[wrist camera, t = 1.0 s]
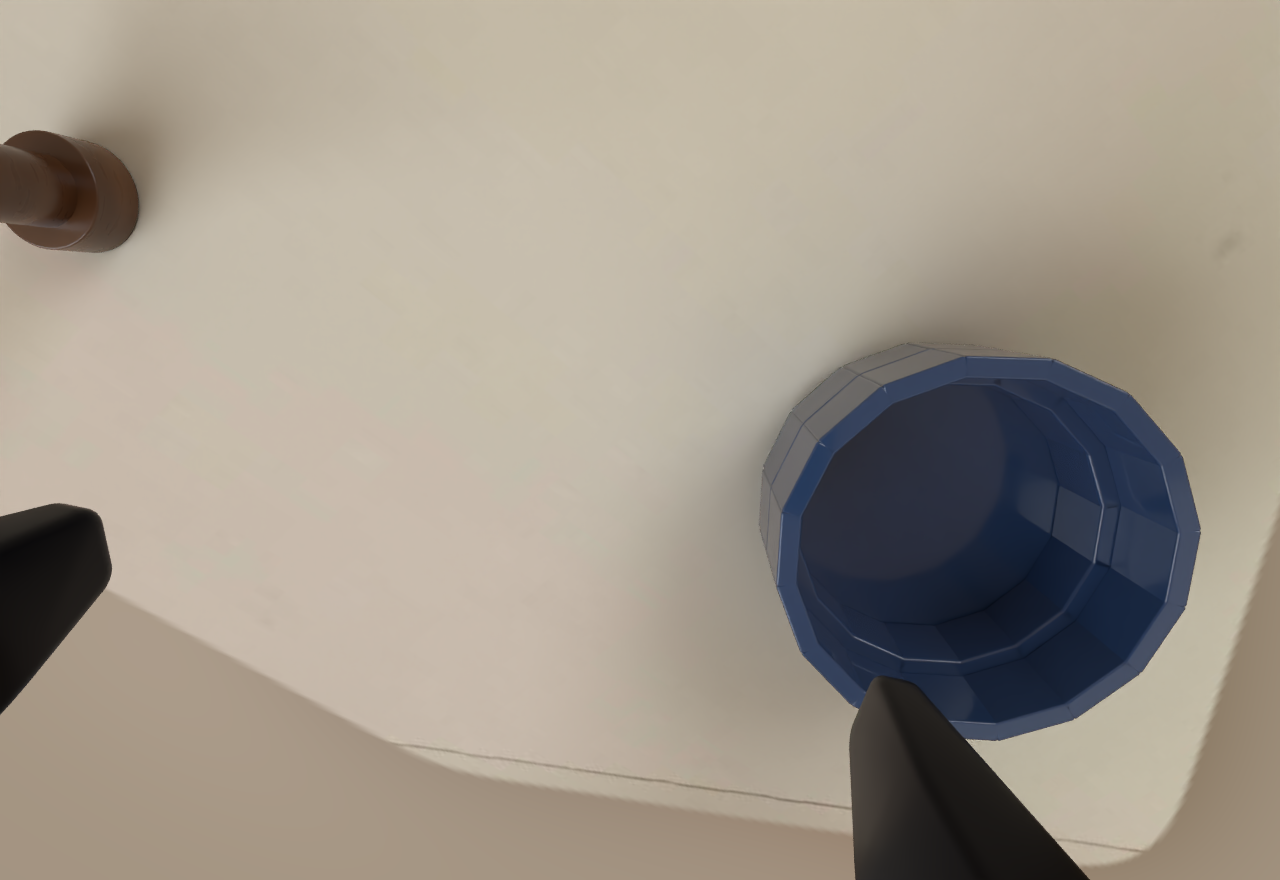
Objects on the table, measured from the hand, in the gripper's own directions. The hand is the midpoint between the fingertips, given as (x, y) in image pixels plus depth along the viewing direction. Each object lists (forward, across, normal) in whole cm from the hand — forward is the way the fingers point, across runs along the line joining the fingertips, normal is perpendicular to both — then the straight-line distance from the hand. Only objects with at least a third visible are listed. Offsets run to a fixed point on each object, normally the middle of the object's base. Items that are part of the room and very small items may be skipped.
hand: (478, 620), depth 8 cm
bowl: (+13, -10, +4) cm, 17 cm away
